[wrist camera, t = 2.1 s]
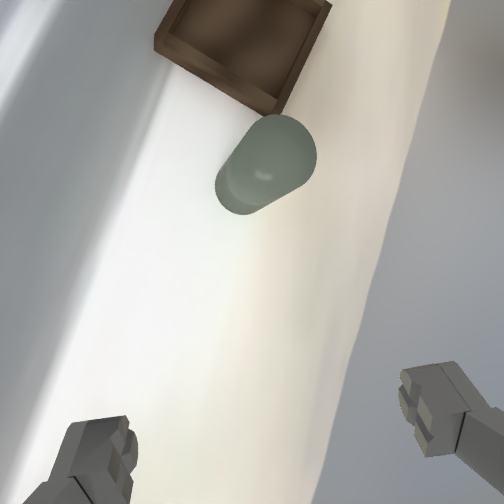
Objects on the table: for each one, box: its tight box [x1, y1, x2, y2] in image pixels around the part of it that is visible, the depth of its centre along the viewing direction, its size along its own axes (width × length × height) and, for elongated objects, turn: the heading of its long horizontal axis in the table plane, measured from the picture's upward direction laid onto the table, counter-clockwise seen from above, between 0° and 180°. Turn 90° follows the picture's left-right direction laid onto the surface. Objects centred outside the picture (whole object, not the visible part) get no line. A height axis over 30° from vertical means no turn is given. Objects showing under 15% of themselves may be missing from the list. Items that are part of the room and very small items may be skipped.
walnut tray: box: [154, 0, 332, 117], centre depth 33 cm, size 12×12×2 cm
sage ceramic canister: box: [215, 114, 317, 215], centre depth 29 cm, size 5×5×10 cm
